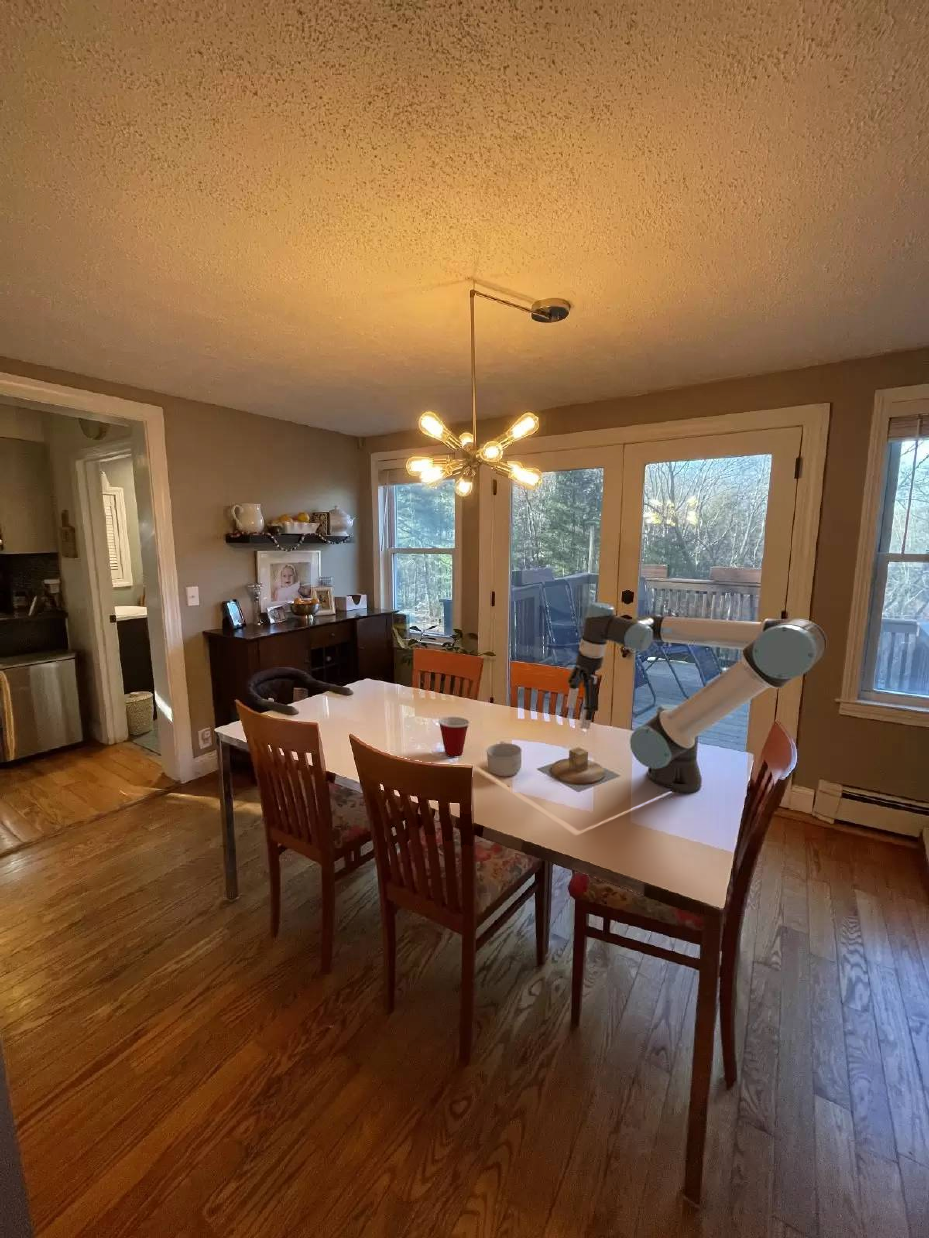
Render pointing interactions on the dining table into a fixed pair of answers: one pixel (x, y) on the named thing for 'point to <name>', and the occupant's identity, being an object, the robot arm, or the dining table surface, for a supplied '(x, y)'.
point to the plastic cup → (453, 734)
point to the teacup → (504, 759)
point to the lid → (578, 768)
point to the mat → (578, 787)
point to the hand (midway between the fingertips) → (577, 717)
